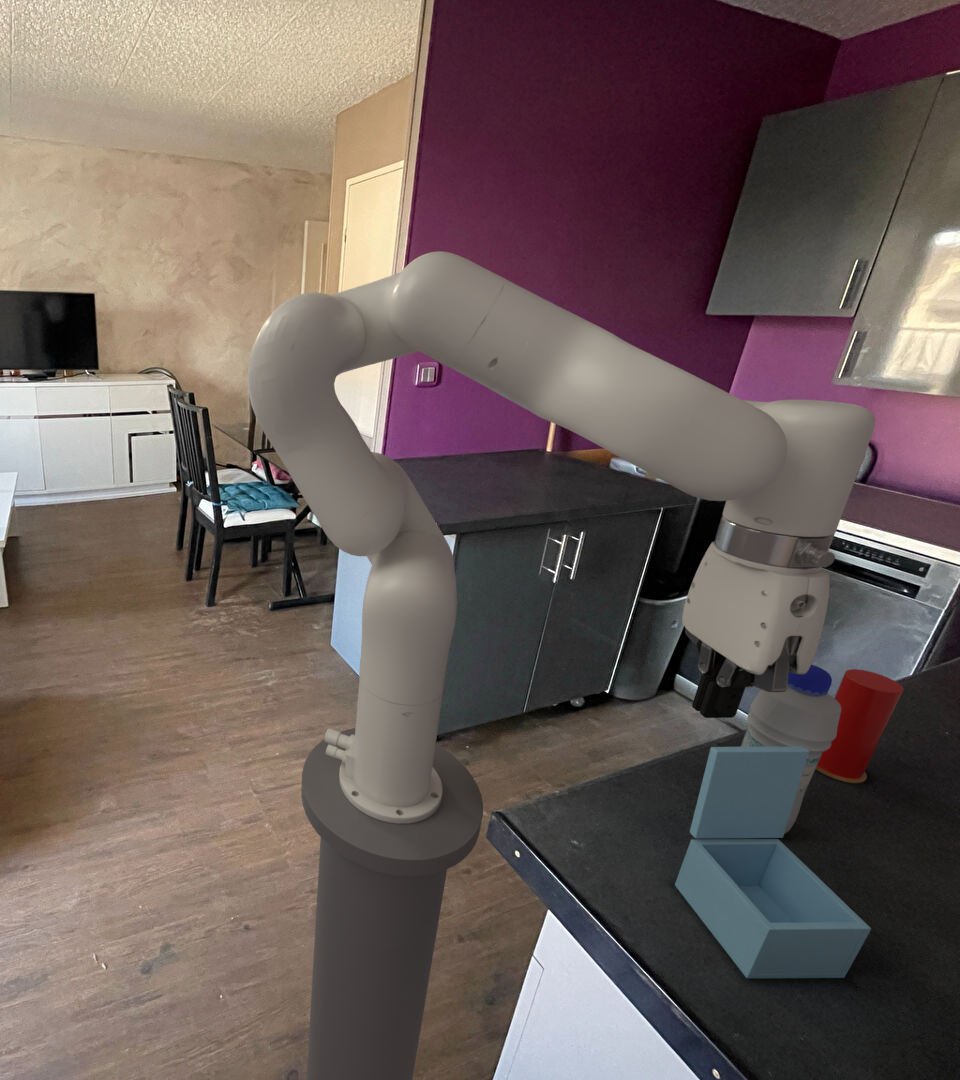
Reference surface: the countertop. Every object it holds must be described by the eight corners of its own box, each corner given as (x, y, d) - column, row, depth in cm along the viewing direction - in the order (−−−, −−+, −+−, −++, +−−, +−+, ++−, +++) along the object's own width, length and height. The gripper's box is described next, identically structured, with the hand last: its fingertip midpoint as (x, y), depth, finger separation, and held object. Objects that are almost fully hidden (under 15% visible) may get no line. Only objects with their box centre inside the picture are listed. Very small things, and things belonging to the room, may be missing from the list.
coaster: (796, 761, 74) (797, 759, 74) (814, 745, 76) (815, 743, 76) (856, 789, 69) (857, 787, 69) (873, 772, 72) (874, 770, 72)
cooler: (844, 978, 49) (871, 928, 47) (746, 978, 49) (769, 929, 47) (758, 884, 58) (778, 838, 56) (674, 885, 58) (690, 839, 56)
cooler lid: (810, 751, 52) (801, 745, 53) (717, 751, 52) (710, 746, 53) (783, 838, 55) (775, 831, 56) (695, 838, 55) (688, 832, 56)
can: (799, 753, 74) (834, 670, 70) (831, 749, 75) (867, 667, 71) (840, 781, 70) (880, 694, 66) (873, 776, 71) (915, 690, 66)
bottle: (728, 834, 63) (789, 679, 56) (704, 790, 69) (756, 645, 62) (804, 851, 61) (877, 692, 54) (773, 804, 67) (835, 655, 60)
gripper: (901, 576, 45) (819, 765, 51) (743, 515, 59) (695, 670, 65) (804, 577, 45) (735, 766, 51) (669, 516, 59) (628, 671, 65)
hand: (712, 712), depth 58 cm, fingers closed
